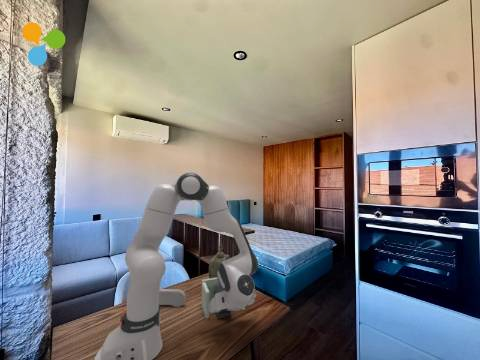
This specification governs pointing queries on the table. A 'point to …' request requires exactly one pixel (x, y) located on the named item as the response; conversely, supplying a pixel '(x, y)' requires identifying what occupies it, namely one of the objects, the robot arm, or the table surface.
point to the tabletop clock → (216, 262)
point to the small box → (222, 313)
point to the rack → (209, 294)
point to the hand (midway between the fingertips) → (228, 307)
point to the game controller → (171, 297)
